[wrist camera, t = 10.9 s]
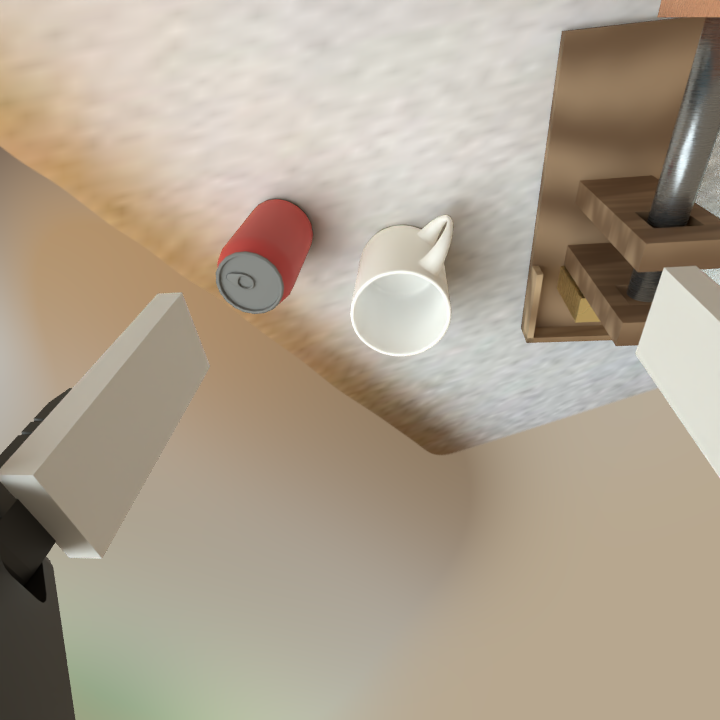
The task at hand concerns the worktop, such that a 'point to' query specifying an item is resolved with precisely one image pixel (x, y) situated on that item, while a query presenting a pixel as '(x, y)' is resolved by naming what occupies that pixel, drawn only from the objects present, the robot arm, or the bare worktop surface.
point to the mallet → (686, 134)
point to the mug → (403, 289)
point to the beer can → (264, 257)
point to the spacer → (574, 298)
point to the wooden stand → (611, 179)
